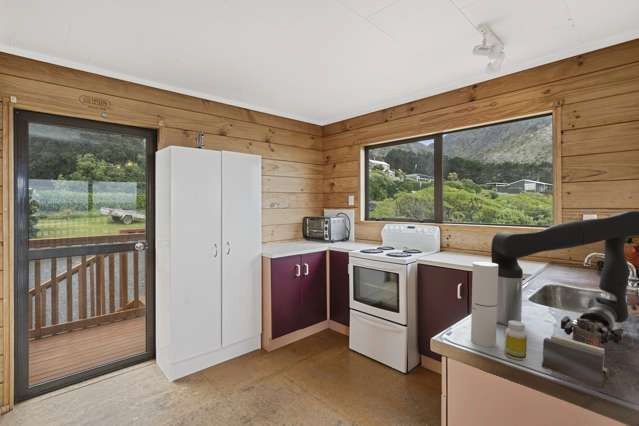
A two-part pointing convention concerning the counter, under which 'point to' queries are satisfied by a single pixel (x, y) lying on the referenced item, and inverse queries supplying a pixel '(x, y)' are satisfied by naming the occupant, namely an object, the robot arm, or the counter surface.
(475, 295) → the cylindrical container
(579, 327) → the lighter
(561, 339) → the gauge plate
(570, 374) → the gauge base
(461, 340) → the counter surface
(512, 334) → the supplement bottle
